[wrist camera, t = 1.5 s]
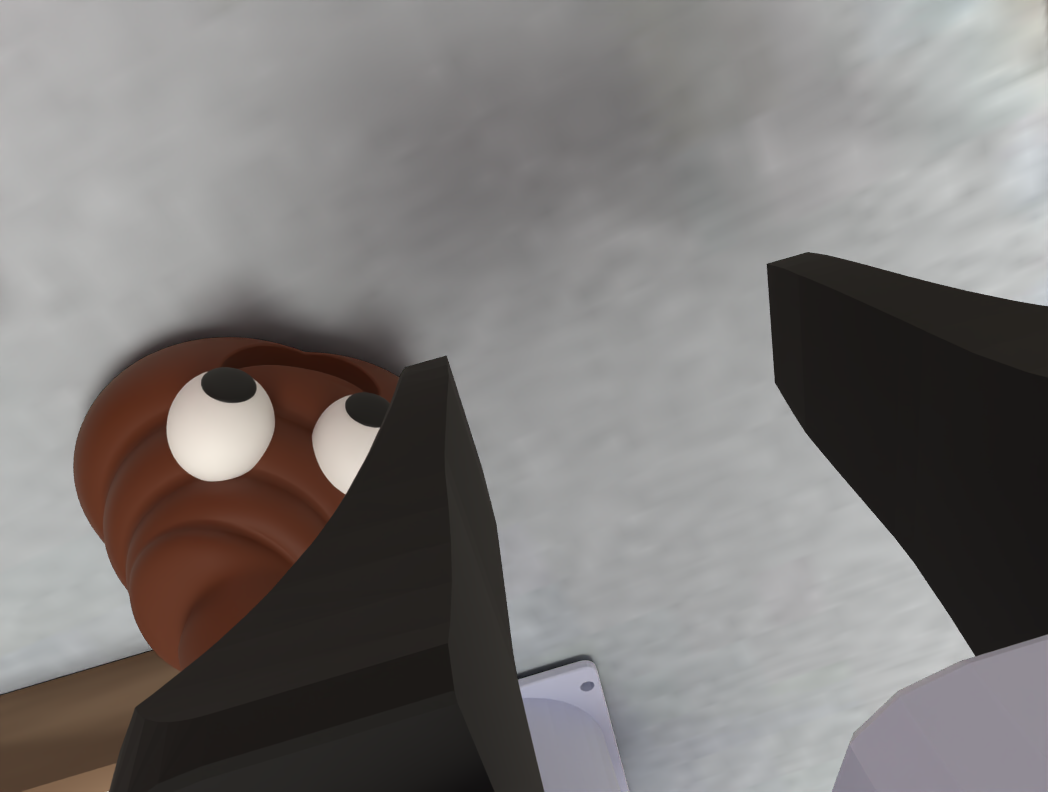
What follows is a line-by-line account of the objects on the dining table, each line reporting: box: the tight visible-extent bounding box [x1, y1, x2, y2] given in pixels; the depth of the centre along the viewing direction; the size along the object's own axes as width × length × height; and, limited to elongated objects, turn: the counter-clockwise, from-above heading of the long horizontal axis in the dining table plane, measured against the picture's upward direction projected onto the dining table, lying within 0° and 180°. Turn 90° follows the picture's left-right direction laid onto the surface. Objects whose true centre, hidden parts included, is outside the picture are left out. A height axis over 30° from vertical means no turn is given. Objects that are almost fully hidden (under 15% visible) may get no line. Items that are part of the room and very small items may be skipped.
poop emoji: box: [73, 337, 399, 672], centre depth 20 cm, size 10×8×9 cm
